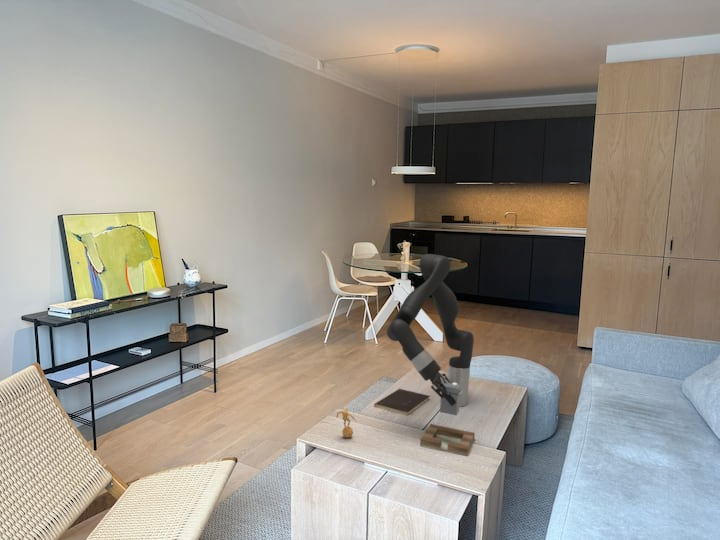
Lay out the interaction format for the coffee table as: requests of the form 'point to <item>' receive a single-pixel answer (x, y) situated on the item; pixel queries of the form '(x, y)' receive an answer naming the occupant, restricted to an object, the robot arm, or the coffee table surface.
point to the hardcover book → (402, 401)
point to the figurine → (347, 430)
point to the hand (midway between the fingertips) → (455, 401)
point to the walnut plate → (447, 439)
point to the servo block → (455, 393)
